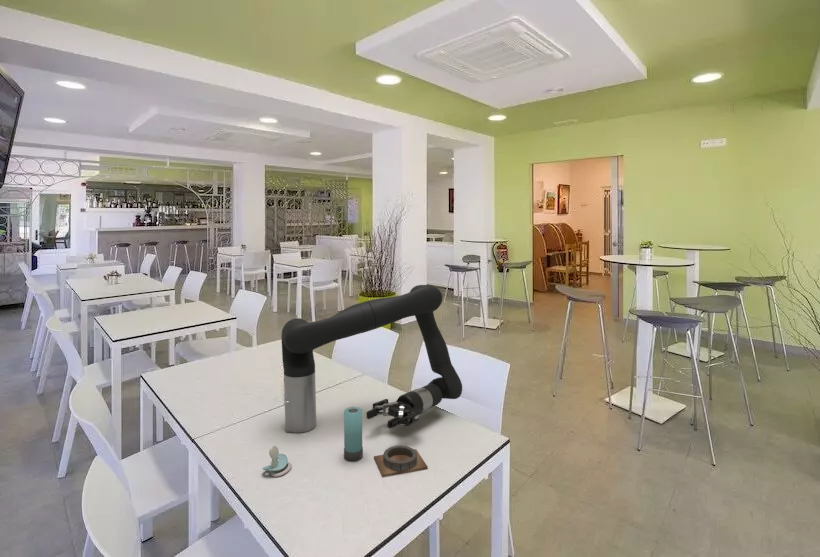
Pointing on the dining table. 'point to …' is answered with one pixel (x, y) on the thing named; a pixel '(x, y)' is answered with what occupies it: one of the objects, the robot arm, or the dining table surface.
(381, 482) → the dining table surface
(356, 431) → the teal cylinder
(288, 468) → the pacifier
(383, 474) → the socket
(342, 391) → the dining table surface
